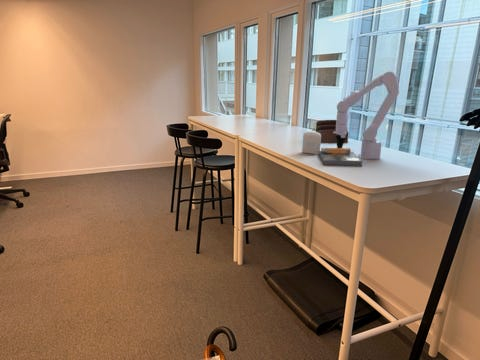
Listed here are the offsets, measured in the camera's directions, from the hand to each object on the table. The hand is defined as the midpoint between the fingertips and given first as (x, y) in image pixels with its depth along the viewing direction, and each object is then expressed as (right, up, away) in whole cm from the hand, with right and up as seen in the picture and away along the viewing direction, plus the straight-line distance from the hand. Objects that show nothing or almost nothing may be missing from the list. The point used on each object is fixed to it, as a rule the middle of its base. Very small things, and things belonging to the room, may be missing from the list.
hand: (339, 148), depth 185 cm
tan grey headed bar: (-4, -2, -6) cm, 8 cm away
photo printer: (-15, -2, +5) cm, 16 cm away
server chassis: (-4, -7, -12) cm, 14 cm away
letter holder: (+6, +8, +40) cm, 42 cm away
